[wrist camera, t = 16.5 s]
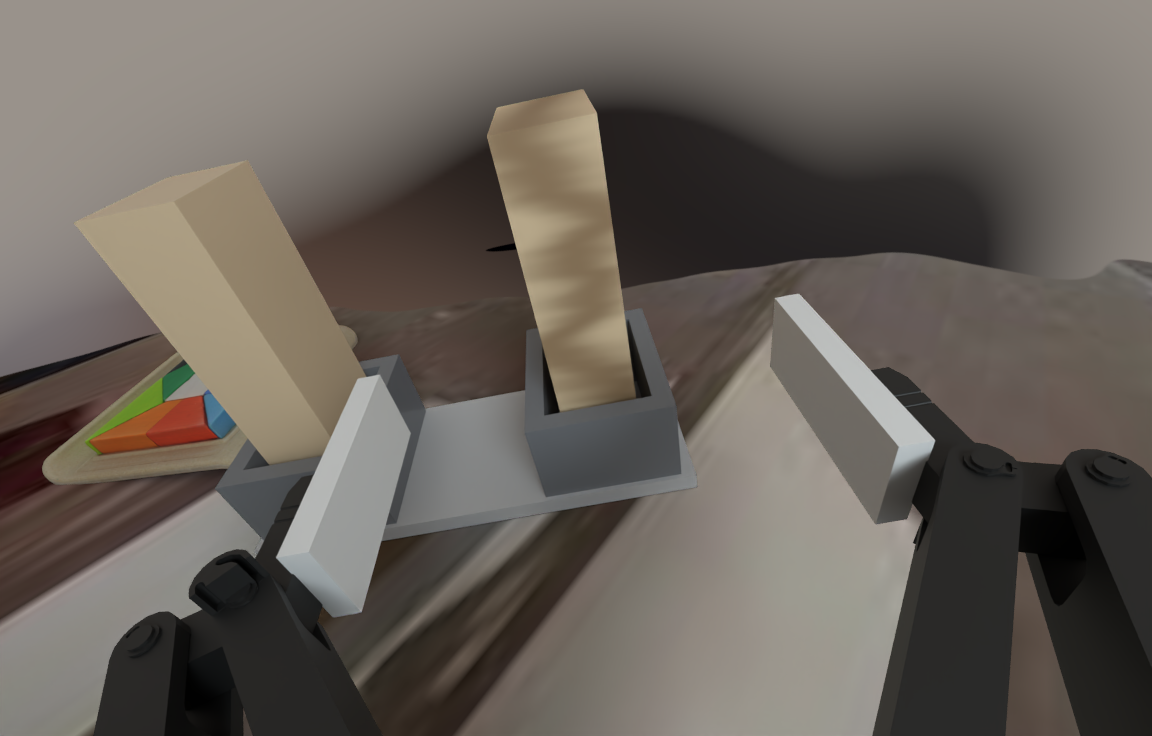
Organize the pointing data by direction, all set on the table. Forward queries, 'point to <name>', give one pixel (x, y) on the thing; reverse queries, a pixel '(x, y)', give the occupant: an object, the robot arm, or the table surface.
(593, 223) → the oak slat
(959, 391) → the table surface
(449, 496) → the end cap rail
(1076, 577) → the robot arm
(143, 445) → the wooden puzzle
